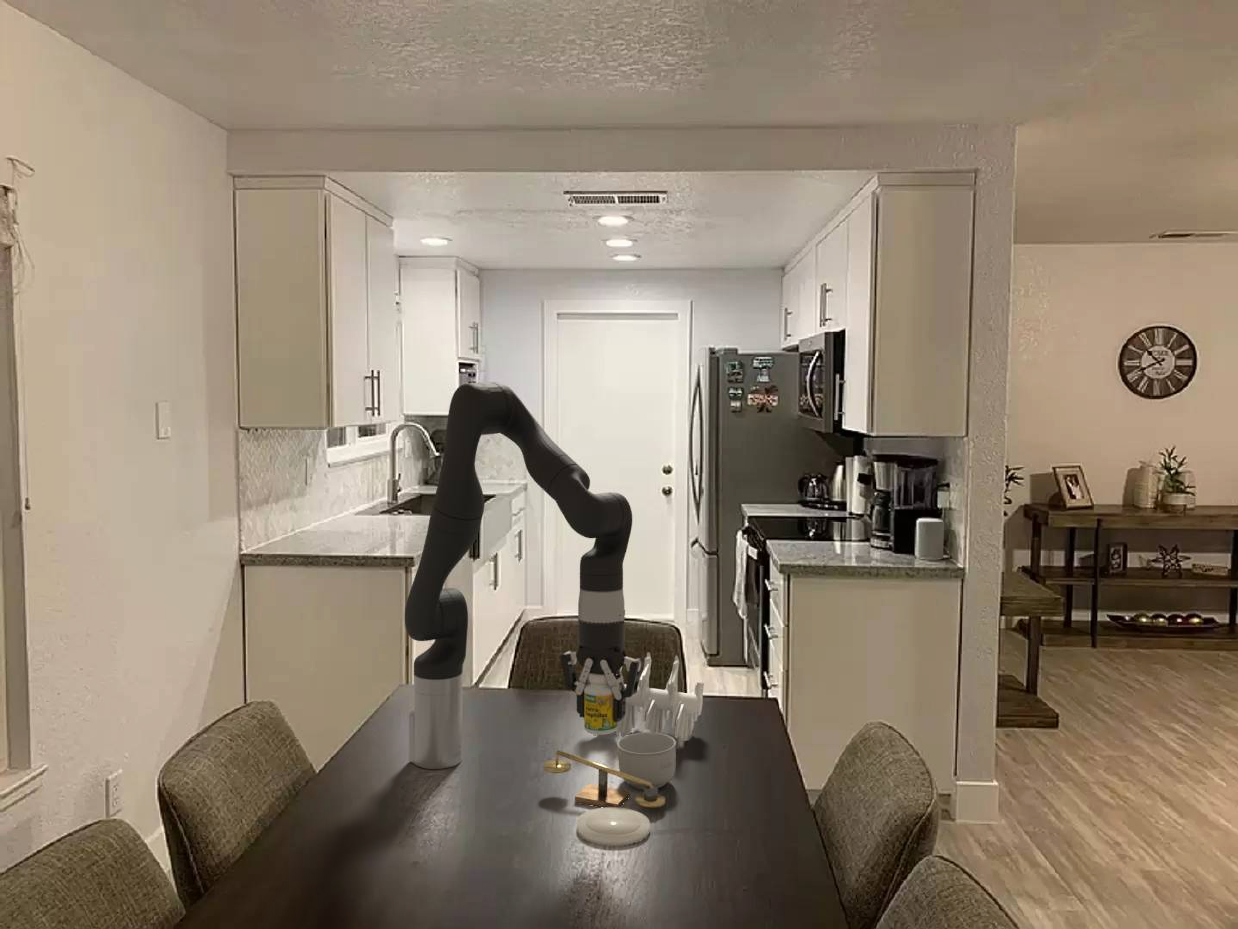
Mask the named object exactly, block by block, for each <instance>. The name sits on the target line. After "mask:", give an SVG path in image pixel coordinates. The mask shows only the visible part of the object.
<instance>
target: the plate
mask: <svg viewBox="0 0 1238 929" xmlns="http://www.w3.org/2000/svg"><path fill="white" fill-rule="evenodd" d="M650 831H651V822H650V819H649V818H648V817H647V816H646V815H645V814H643V813H642V812H639V811H637V810H633V809H630V808H625V807H621V808H619V807H605V808H599V807H597V808H593V809H590V810H588V811H586V812H584V813H582V814H580V815H579V817H577V820H576V833H577V835H580V836H581V837H582V840H584V839H585V841H586V840H588V841H590V842H589V843H591V842H593V843H592V844H594V843H595V845H597V846H603V845H604V846H605V847H624V845H626V846H630V845H629V844H631V845H634V844H633V843H635V844H637V842H638V843H640V842H641V841H640V840H642V841H643V839H644V838H645V839H646V838H647V837H648V836H649V835H650V833H649V832H650ZM648 834H649V835H648ZM647 835H648V836H647ZM580 836H579V837H580ZM581 837H580V838H581ZM645 839H644V840H645ZM588 841H587V842H588ZM639 841H640V842H639ZM599 844H600V845H599ZM604 846H603V847H604Z"/></svg>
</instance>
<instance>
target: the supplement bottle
mask: <svg viewBox="0 0 1238 929" xmlns="http://www.w3.org/2000/svg"><path fill="white" fill-rule="evenodd" d="M588 680H589V682H590V683H589V684H587V685H586V686H585V689H584V718H583V719H584V724H583V726H584V730H585V732H586V733H588V734H591V735H593V734H595V735H596V736H602V735H611V734H613V733H616V730H617V722H614V720H613V700H614V699H615V696H614V694H613V691H612V688H611V687H610V686H609V684H608V681H607V679H606V676H605V675H603V674H593V673H590V674H589V676H588Z"/></svg>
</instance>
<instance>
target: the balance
mask: <svg viewBox="0 0 1238 929" xmlns="http://www.w3.org/2000/svg"><path fill="white" fill-rule="evenodd" d="M559 756H560V757H563V758H566V759H568V760H571V761H574V762H575V763H580V764H582V765H585V766H588V767H590V768H593V769H596V770H598V781H597V782H598V783H597V784H598V785H596V784H590V783H588V784H587V785H586V786H585V787H583V788H582V789H581V790H580V791H579V792H578V793H577V794H575V795H574V803H575V804H577V803H581V804H580V805H582V804H587V805H586V806H588V805H593V806H597V807H596V808H599V807H603V808H605V807H619V808H620V807H621V806H622V805H623V803H625V802H626V801H627V800H628V801H629V799H630V798H631V791H630V790H624V789H619V788H613V787H608V780H609V779H608V778H609V775H608V774H611V775H612V776H616V777H618V778H621V779H623V778H624V779H626V780H629V781H632V782H635V783H637V784H640V785H643V786H644V789H643V793H641V794H638V795H637V796H636V798H635V803H636V804H637V805H639V806H640V807H643V808H647V809H649V808H650V809H654V808H655V809H656V808H660V807H663V806H665V804H666V798H665V796H664V795H661V794H659V793H658V792H659V791H658V790H659V788H658V787H657V786H655V785H652V783H651V782H648V781H645V780H642V779H640V778H637V777H634V776H631V775H628V774H626V773H623V772H620V771H619V770H617V769H614V768H611V767H608V766H606V765H604V764H600V763H597V762H594V761H592V760H589V759H587V758H584V757H582V756H578V755H574V754H572V753H570V752H567V751H564V750H561V749H557V750H556V752H555V759H551V760H548V761H544V762H543V763H542V769H543V771H545V772H547V773H550V774H564V773H567V772H569V771H571V770H572V764H571V762H569V761H566V760H563V759H560V758H559ZM624 779H623V780H624ZM629 797H630V798H629ZM628 798H629V799H628ZM628 801H627V802H628ZM627 802H626V803H627ZM626 803H625V804H626ZM593 806H592V807H593ZM623 806H624V805H623ZM623 806H622V807H623ZM622 807H621V808H622Z"/></svg>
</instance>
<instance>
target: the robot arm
mask: <svg viewBox="0 0 1238 929" xmlns="http://www.w3.org/2000/svg"><path fill="white" fill-rule="evenodd" d="M448 408H449V409H448V414H447V422H446V423H447V424H446V431H445V440H444V448H443V449H444V450H443V457H442V462H441V466H440V470H439V477H438V482H437V486H436V491H435V494H434V499H433V502H432V506H431V512H430V516H429V520H428V524H427V525H428V526H427V531H426V535H425V540H424V544H423V549H422V553H421V556H420V560H419V563H418V564H419V565H418V567H417V570H416V572H415V576H414V578H413V582H412V585H411V588H410V591H409V593H408V597H407V600H406V604H405V608H404V626H405V629H406V632H407V635H408V636H409V637H410V638H411V639H412V640H414V641H416V642H428V641H433V640H434V641H433V643H432V644H431V645H430V647H428V648H427V649H426V650H425V651H424V652H422V653H420V654H419V655H418V656H417V657H416V658H415V659H414V661H413V708H412V709H413V710H412V711H411V712H409V713H408V762H409V763H413V764H414V765H415V766H417V767H420V768H423V769H428V770H429V769H430V770H439V769H440V770H441V769H448V768H451V767H454V766H457V765H458V764H460V763H461V761H462V756H463V755H462V754H463V747H462V746H463V676H464V674H463V672H464V671H463V669H464V667H463V666H464V662H465V659H466V656H467V641H468V628H469V608H468V604H467V600H466V597H465V596H464V594H463V593H462V592H461V591H460V590H459V589H458V588H455V587H454V588H453V587H449V588H448V587H447V588H444V585H445V583H446V581H447V579H448V576H449V575H450V574H451V572H452V571H453V570H454V568H455V567H456V566H457V565H458V563H459V562H460V561H461V560H463V558H464V557H465V556H466V554H467V552H469V550H470V549H471V547H472V546H473V545H474V543H475V542H476V540H477V538H478V535H479V531H480V527H481V525H482V524H481V523H482V520H483V514H484V510H485V506H486V504H485V497H484V493H483V492H484V491H483V488H482V486H481V483H480V481H479V477H478V474H477V472H476V456H477V452H478V445H479V443H480V439H481V436H486V435H487V436H488V435H496V434H497V435H498V434H501V435H502V436H504V437H506V438H507V439H509V440H510V441H512V442H513V443H514V444H515V445H517V447H518V448H519V449H520V452H521V454H522V457H523V458H522V459H523V461H524V464H525V465H524V466H525V467H526V470H527V472H528V474H529V476H530V477H531V479H533V481H534V482H535V483H536V484H537V485H538V486H539V487H540V489H542V490H543V491H544V492H545V493H546V494H547V495H548V496H549V497H551V499H552V500H553V501H555V502H556V505H557V507H558V509H559V511H560V512H561V513H562V515H563V517H564V519H565V521H566V522H567V524H568V526H570V528H571V529H572V530H573V531H575V533H576V534H578V535H580V536H581V537H583V538H587V539H595V540H594V543H593V547H592V548H591V549H590V550H588V551H587V552H585V553H583V554H582V556H581V557H580V563H579V594H578V601H577V602H578V603H577V604H578V607H577V611H578V614H577V616H578V617H577V620H578V621H577V623H578V624H577V631H578V632H577V633H578V634H577V642H578V647H577V650H576V651H572V650H568V651H566V652H564V653H562V654H561V655H560V663H561V668H562V669H561V670H562V675H563V680H564V686H565V689H566V690H567V691H573V692H574V693H575V695H576V712H577V714H579V718H582V719H584V689H585V686H586V685H587V684H589V683H590V682H589V680H588V676H589V674H590V673H593V674H603V675H605V676H606V679H607V681H608V684H609V686H610V687H611V688H612V691H613V694H614V696H615V699H614V700H613V720H614V722H619V721H621V720H622V718H623V717H624V716H625V714H626V708H625V707H626V697H631V696H632V695H633V694H635V693H636V692H637V689H638V684H639V679H640V677H641V675H642V668H643V665H644V663H643V662H644V661H643V659H641V658H639V657H638V658H632V657H629V656H627V653H626V652H625V616H626V610H625V596H624V566H623V565H624V560H625V556H626V554H627V549H628V544H629V542H630V536H631V533H632V528H633V512H632V508H631V504H630V503H629V501H628V499H627V498H626V497H625V496H624V495H623V494H621V493H619V492H615V491H611V492H610V491H609V492H601V493H592V492H591V491H590V490H589V489H590V487H591V479H590V477H589V474H588V473H587V472H586V471H585V470H584V469H583V467H581V466H580V465H579V464H578V463H577V462H576V461H575V460H574V459H572V458H571V457H570V456H569V455H568V454H567V453H566V452H565V451H564V450H563V449H562V448H560V447H559V446H558V445H557V444H556V443H555V441H553V439H551V437H550V436H549V435H548V434H547V432H546V431H545V430H544V429H543V427H542V426H541V425H540V423H539V422H538V421H537V419H536V418H535V417H534V416H533V414H531V412H530V411H529V409H528V408H527V406H526V405H525V404H524V402H523V401H522V400H521V399H520V398H519V396H518V395H517V394H516V393H515V391H514V390H512V389H511V387H509V386H508V385H506V384H505V383H503V382H502V383H501V382H497V381H491V382H489V381H487V382H469V383H468V382H467V383H464V384H461V385H460V386H458V387H457V388H456V390H455V391H454V393H453V394H452V397H451V399H450V403H449V407H448ZM577 661H578V663H579V664H580V666H581V668H582V671H581V673H580V675H579V678H578V674H577V669H576V668H577V667H576V664H577ZM624 665H625V666H626V671H627V672H628V675H627V680H626V688H625V685H624V684H625V683H624V676H623V672H622V670H621V671H620V669H621V667H622V668H623V666H624Z"/></svg>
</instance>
